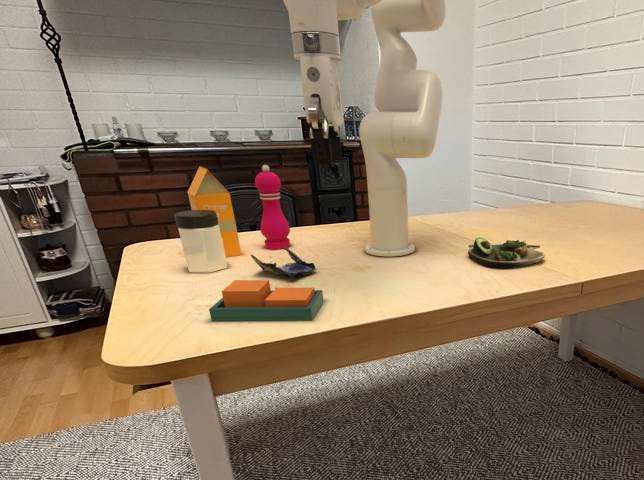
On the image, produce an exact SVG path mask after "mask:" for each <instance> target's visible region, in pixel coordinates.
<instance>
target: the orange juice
mask: <svg viewBox="0 0 644 480" xmlns="http://www.w3.org/2000/svg"><path fill="white" fill-rule="evenodd" d="M187 196H188V200H189V203H190V209H191V210H212V211H215V212H216V214H217V217H218V225H219V228H220V233H221V237H222V240H223V246H224V251H225V257H226V258H229V257H236V256H242V250H241V244H240V239H239V233H238V228H237V223H236V219H235V214H234V213H235V212H234V209H233V204H232V198H231V192H229V191H228V190H227V189H226V187H225V186H224V185H223V184H222V183H221V182H220V180H218V179H217V178H216V177H215V175H214V174H213V173H211V171H210V170H209V169H208V168H207V167H204V166H201V165H199V166H198V169H197V170H196V173H195V175H194V178H193V180H192V182H191V184H190V185H189V188H188V190H187Z"/></svg>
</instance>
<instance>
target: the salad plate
mask: <svg viewBox="0 0 644 480" xmlns="http://www.w3.org/2000/svg"><path fill="white" fill-rule="evenodd" d="M505 241H506V242H503V243H498V244H491V242H490V241H488V240H487V239H486V238H484V237H479V236H478V237H476V238H475V240H474V242H473V244H469V245H467V247H468V250H467V254H468V255H469V257H470V259H471V260H472V261H474V262H476V263H477V264H479V265H481V266H484V267H487V268H493V269H513V268H517V267H518V268H520V267H526V266H529V265H533V264H537V263H539V262H540V261H542V260H543V259H545V258H546V254H545V253H544V252H541V251H539V250H538V251H537V249H540V248H541V245H538V244H537V245H536V244H528V243H527V241H526V240H522V241H520V240H519V239H517V240H510V239H507V240H505Z"/></svg>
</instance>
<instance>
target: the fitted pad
mask: <svg viewBox="0 0 644 480" xmlns="http://www.w3.org/2000/svg"><path fill="white" fill-rule="evenodd" d="M273 290H274V291H273V292H272V293H271V294H270V295H269V296H268V297H267V298H266V299H265V304H266V307H308V305H309V304H310V302H311V300H312V299H313V297H314V296H315V290H316V289H315V287H311V286H310V287H308V286H307V287H275V288H274V289H273Z"/></svg>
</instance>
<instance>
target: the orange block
mask: <svg viewBox="0 0 644 480" xmlns="http://www.w3.org/2000/svg"><path fill="white" fill-rule="evenodd" d="M270 294H271V283H270V280H269V279H235V280H233V281H232V282H231V283H230V284H228V285H227V286H226V287H224V289H222V290H221V295H222V298H223V300H224V304H225V308H243V307H266V304H265V299H266V298H267V297H268V296H269V295H270Z"/></svg>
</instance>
